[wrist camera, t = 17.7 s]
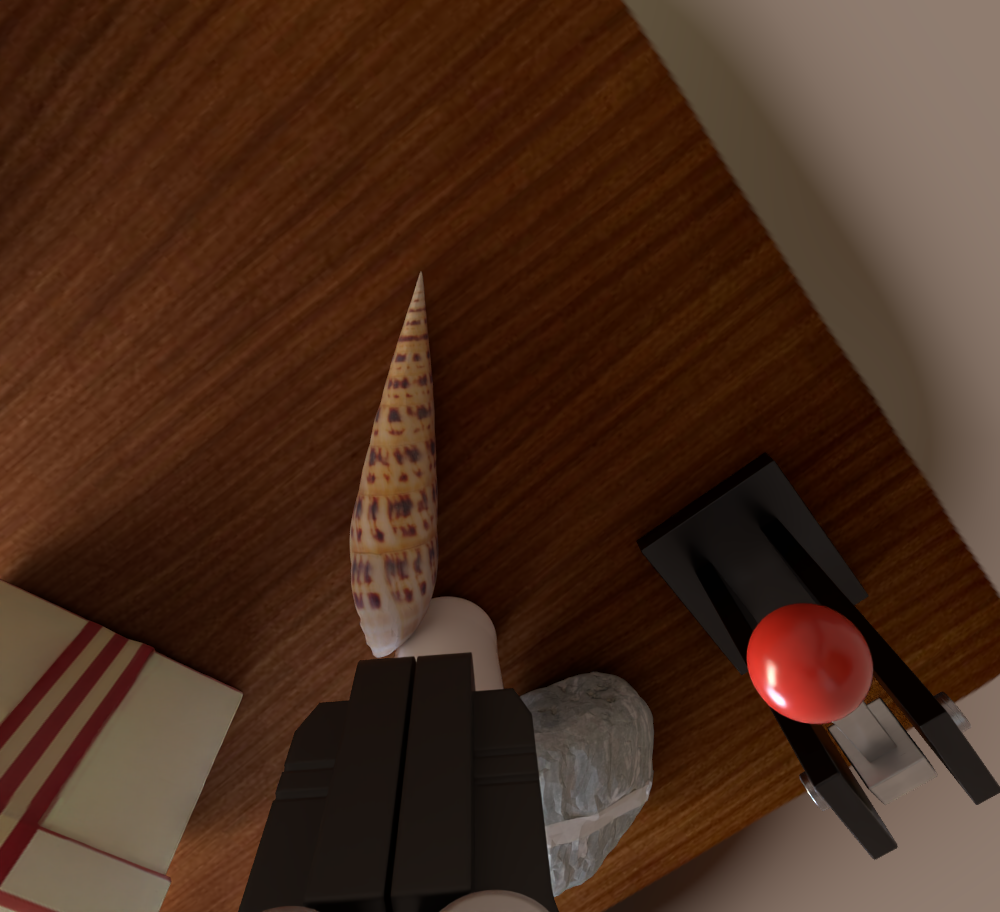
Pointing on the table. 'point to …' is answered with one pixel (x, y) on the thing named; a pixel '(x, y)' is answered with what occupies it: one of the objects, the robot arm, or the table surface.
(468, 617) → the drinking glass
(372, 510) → the seashell
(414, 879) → the robot arm
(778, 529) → the bracket
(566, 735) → the decorative stone
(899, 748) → the lever
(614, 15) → the table surface
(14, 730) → the gift box
